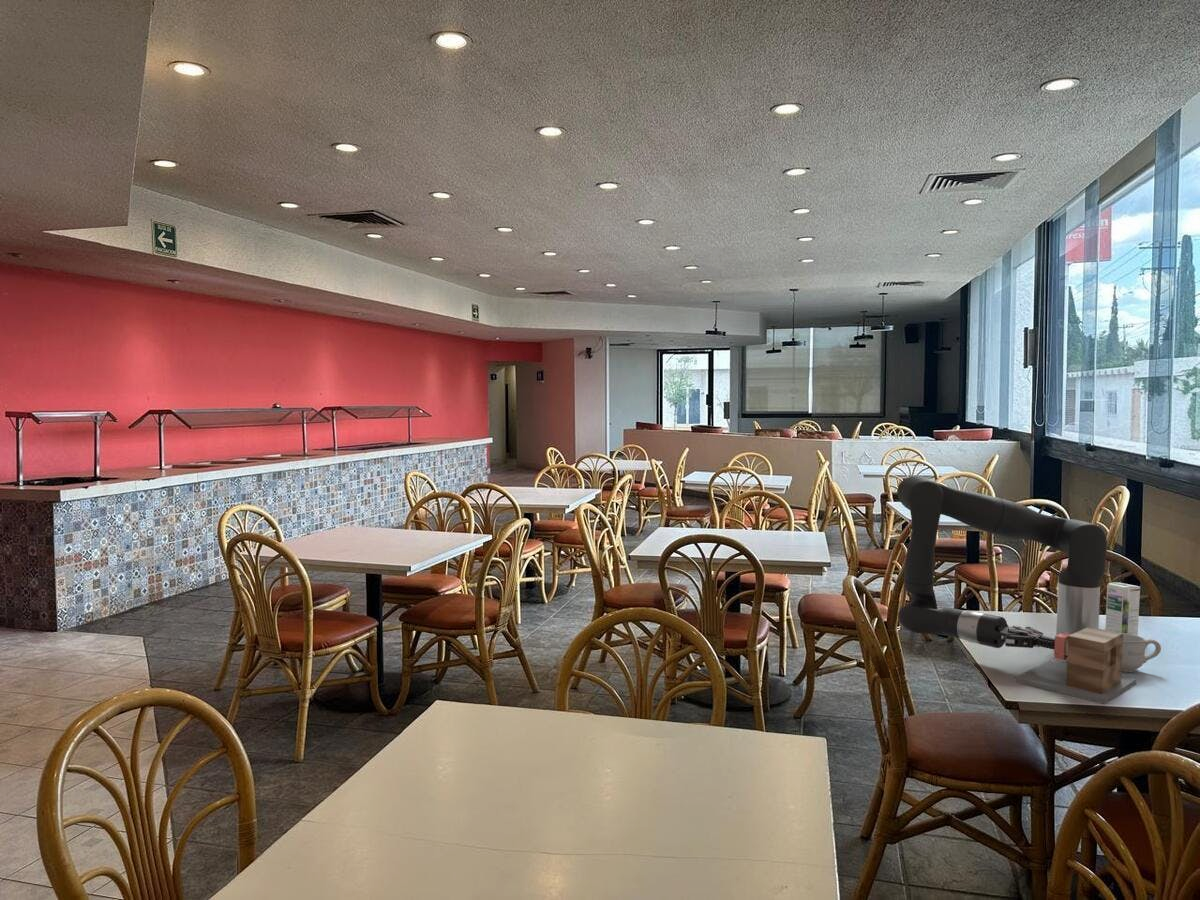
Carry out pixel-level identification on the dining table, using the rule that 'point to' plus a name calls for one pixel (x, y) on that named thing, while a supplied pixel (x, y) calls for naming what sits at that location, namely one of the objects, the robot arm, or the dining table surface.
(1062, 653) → the red headed square peg
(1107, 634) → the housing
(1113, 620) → the syrup box
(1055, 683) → the base mat
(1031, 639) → the robot arm
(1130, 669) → the teacup
